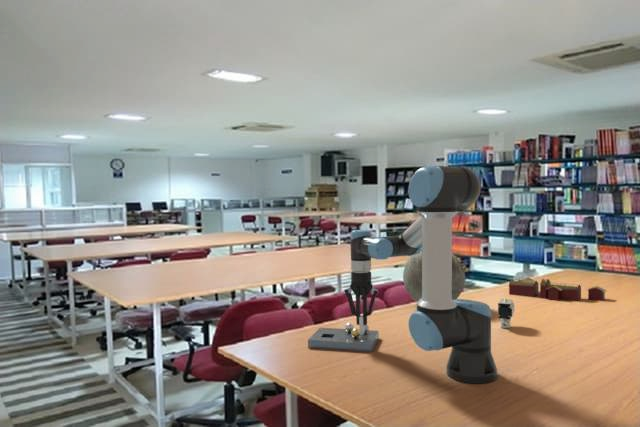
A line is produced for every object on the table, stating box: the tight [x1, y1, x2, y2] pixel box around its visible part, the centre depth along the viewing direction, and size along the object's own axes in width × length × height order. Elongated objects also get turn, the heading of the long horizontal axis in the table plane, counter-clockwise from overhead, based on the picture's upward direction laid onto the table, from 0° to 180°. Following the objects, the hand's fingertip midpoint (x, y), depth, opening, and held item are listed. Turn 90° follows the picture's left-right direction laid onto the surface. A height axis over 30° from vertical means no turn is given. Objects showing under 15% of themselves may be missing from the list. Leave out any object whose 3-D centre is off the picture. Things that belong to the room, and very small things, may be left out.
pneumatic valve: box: [497, 298, 515, 330], centre depth 202 cm, size 6×12×12 cm, turn 152°
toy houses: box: [508, 276, 608, 302], centre depth 259 cm, size 45×20×10 cm, turn 51°
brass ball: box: [351, 327, 360, 338], centre depth 182 cm, size 3×3×3 cm
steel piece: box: [344, 322, 355, 332], centre depth 190 cm, size 3×3×3 cm
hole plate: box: [307, 327, 380, 353], centre depth 185 cm, size 17×24×3 cm
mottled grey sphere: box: [402, 248, 466, 303], centre depth 241 cm, size 30×30×30 cm
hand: (362, 333), depth 182 cm, fingers closed
